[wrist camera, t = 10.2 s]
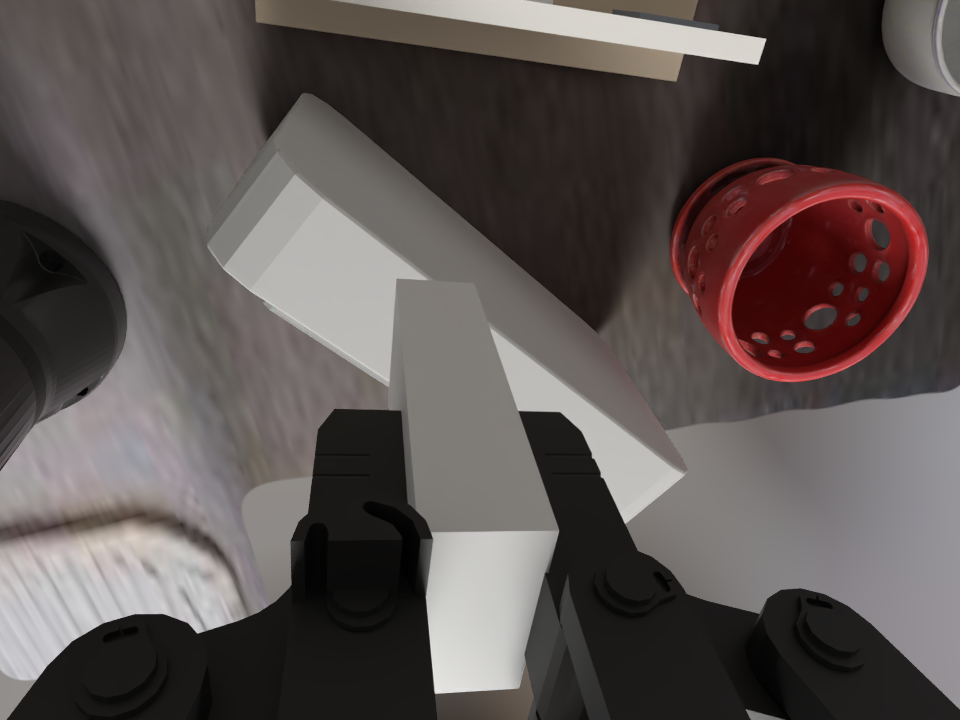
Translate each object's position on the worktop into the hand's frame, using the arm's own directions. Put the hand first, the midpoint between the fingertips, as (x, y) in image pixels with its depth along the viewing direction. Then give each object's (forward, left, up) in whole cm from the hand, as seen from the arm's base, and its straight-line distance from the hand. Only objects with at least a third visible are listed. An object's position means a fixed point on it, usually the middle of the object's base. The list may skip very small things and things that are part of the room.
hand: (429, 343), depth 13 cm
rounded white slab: (+5, -10, -33) cm, 35 cm away
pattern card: (+5, +6, -32) cm, 33 cm away
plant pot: (+26, -6, -33) cm, 42 cm away
